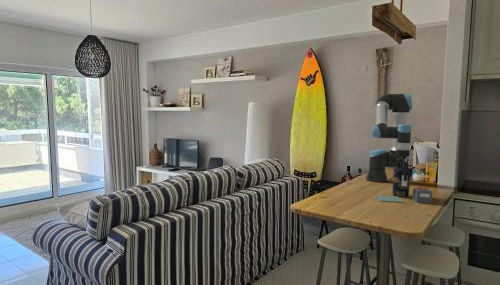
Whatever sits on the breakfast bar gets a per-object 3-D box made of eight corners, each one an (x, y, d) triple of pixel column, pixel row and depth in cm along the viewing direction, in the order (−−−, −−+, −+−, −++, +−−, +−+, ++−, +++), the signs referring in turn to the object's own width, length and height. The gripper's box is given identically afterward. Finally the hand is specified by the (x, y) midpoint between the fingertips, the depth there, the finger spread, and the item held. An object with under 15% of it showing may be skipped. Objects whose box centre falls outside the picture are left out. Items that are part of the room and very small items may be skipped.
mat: (375, 196, 208) (375, 195, 208) (398, 197, 206) (398, 196, 206) (380, 201, 197) (380, 200, 197) (403, 202, 195) (403, 201, 194)
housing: (412, 199, 203) (413, 187, 203) (426, 199, 202) (427, 188, 201) (416, 202, 195) (417, 190, 194) (431, 203, 194) (432, 191, 193)
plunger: (417, 198, 201) (418, 186, 200) (424, 198, 200) (424, 187, 199) (419, 200, 197) (420, 188, 196) (426, 200, 196) (427, 188, 196)
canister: (410, 198, 205) (412, 168, 204) (393, 197, 207) (395, 167, 205) (406, 194, 215) (408, 166, 213) (390, 193, 216) (392, 165, 215)
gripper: (391, 147, 221) (389, 179, 223) (402, 151, 196) (400, 187, 198) (403, 147, 220) (401, 180, 222) (416, 152, 195) (413, 188, 197)
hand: (401, 183), depth 210 cm, fingers open, 13 cm apart
